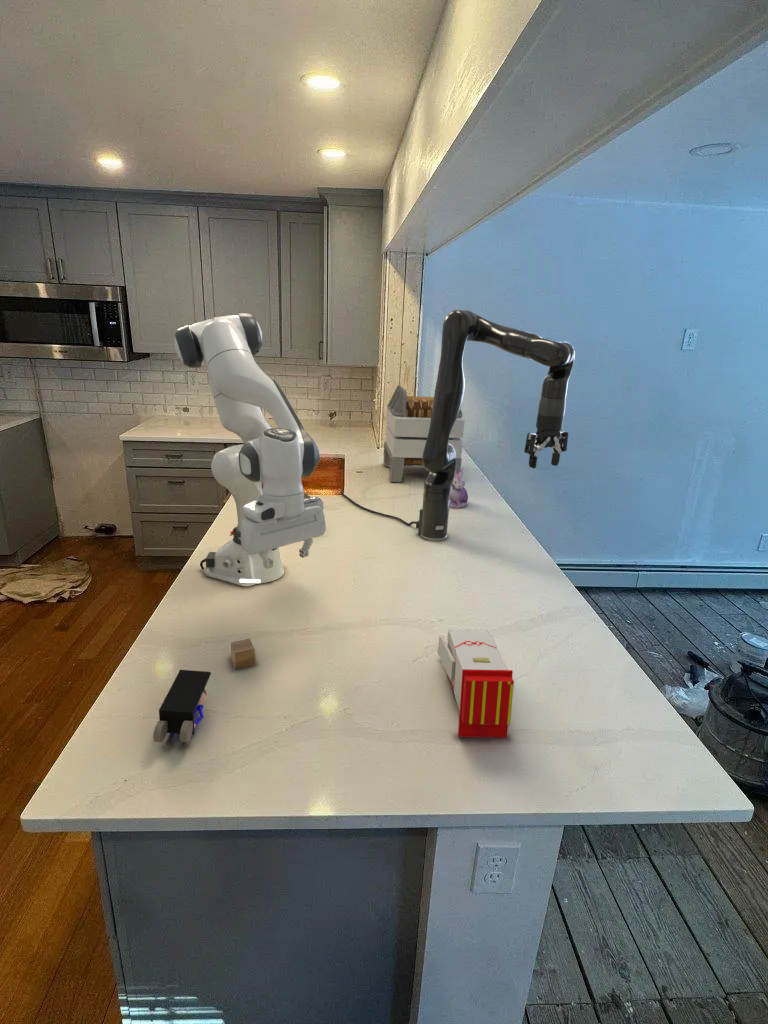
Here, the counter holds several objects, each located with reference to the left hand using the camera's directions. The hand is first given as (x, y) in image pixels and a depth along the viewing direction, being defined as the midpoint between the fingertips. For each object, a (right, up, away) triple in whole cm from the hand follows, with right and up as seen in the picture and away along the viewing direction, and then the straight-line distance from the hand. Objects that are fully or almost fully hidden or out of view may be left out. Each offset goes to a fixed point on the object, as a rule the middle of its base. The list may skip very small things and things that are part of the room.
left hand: (286, 561), depth 129 cm
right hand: (+70, +25, +43) cm, 86 cm away
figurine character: (-15, -29, -23) cm, 40 cm away
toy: (+40, -26, -10) cm, 49 cm away
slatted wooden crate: (+39, +30, +146) cm, 155 cm away
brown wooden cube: (-9, -22, -3) cm, 24 cm away
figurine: (+52, +14, +104) cm, 117 cm away
